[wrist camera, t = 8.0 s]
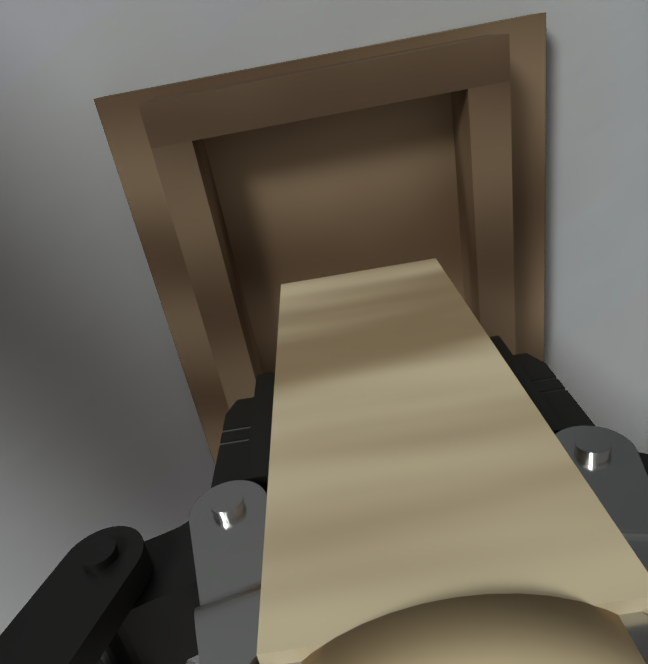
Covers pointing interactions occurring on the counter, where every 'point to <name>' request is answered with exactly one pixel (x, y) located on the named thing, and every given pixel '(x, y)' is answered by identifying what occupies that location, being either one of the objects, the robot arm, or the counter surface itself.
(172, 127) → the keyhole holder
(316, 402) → the maple peg
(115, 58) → the counter surface
